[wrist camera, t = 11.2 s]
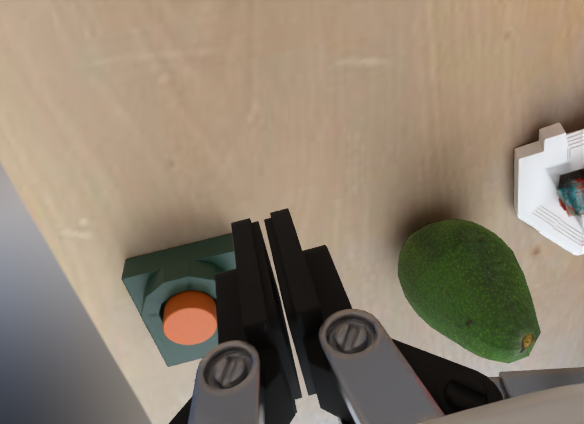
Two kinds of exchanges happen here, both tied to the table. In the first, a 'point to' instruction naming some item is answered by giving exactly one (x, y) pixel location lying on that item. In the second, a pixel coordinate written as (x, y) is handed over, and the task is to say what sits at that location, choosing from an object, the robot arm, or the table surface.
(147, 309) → the housing
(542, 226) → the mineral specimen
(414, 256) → the fruit
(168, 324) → the button
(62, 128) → the table surface
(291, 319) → the robot arm
